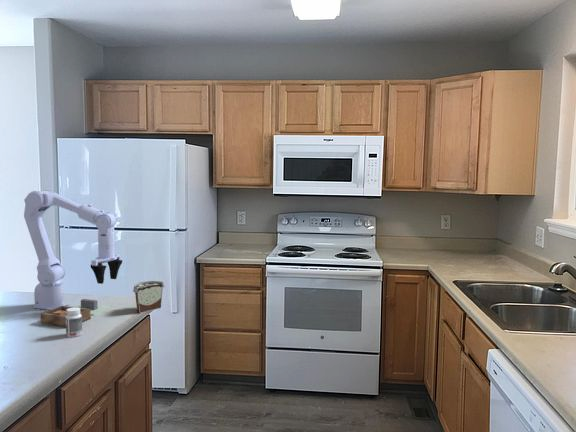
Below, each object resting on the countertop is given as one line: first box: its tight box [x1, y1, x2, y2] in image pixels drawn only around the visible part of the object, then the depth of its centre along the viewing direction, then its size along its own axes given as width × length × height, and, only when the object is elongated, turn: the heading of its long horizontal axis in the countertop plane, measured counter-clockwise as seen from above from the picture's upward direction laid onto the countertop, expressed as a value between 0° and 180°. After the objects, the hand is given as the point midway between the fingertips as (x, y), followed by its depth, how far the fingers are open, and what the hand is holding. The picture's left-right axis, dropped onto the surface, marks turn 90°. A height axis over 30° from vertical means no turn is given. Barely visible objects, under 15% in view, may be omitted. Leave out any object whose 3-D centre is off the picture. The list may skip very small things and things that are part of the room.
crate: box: [40, 305, 92, 328], centre depth 165 cm, size 12×10×4 cm
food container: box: [132, 280, 165, 314], centre depth 181 cm, size 12×6×10 cm, turn 141°
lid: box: [75, 298, 113, 316], centre depth 179 cm, size 13×11×4 cm
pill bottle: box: [65, 306, 83, 338], centre depth 152 cm, size 5×5×8 cm
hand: (107, 281), depth 181 cm, fingers open, 7 cm apart
